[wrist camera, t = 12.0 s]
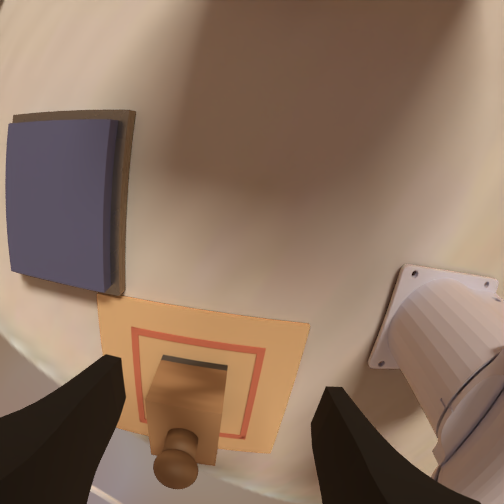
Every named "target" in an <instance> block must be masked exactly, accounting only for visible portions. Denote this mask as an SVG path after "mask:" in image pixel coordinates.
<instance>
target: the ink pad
mask: <svg viewBox="0 0 504 504" xmlns="http://www.w3.org/2000/svg"><path fill="white" fill-rule="evenodd" d="M135 115H136V112H135V111H131V110H76V111H56V112H41V113H30V114H20V115H13V123H10V124H9V126H8V137H7V151H6V220H7V235H8V246H9V255H10V264H11V271H13V272H16V273H20V274H24V275H28V276H32V277H36V278H40V279H44V280H48V281H52V282H56V283H61V284H65V285H69V286H74V287H78V288H83V289H87V290H92V291H97V292H101V293H106V294H111V295H116V296H120V295H121V294H122V293H123V292H124V291H125V238H126V211H127V193H128V179H129V168H130V157H131V147H132V138H133V130H134V122H135Z"/></svg>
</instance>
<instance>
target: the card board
mask: <svg viewBox="0 0 504 504" xmlns="http://www.w3.org/2000/svg"><path fill="white" fill-rule="evenodd" d="M97 306H98V317H99V327H100V336H101V344H102V352H103V356H104V355H105V354H108V355H112V356H116V357H120V358H121V360H122V369H123V377H124V385H125V393H126V400H125V403H124V406H123V410H122V413H121V416H120V419H119V421H118V424H117V426H116V428H119V429H123V430H127V431H131V432H135V433H139V434H143V435H147V436H149V433H148V424H147V416H146V406H145V399H146V396H147V393H148V391H149V388H150V386H151V383H152V381H153V378H154V376H155V373H156V371H157V368H158V366H159V363H160V361H161V358H162V356H163V355H168V356H174V357H179V358H185V359H190V360H196V361H203V362H209V363H216V364H223V365H228V369H227V378H226V386H225V395H224V403H223V412H222V419H221V427H220V434H219V441H218V449H226V450H235V451H245V452H256V453H271V450H272V447H273V444H274V441H275V439H276V436H277V433H278V430H279V427H280V424H281V421H282V418H283V415H284V412H285V409H286V406H287V403H288V400H289V397H290V394H291V390H292V387H293V384H294V381H295V378H296V374H297V371H298V368H299V364H300V361H301V357H302V354H303V351H304V347H305V344H306V340H307V337H308V333H309V329H310V325H309V324H308V323H299V322H290V321H281V320H273V319H265V318H257V317H249V316H242V315H235V314H228V313H221V312H214V311H207V310H201V309H195V308H188V307H182V306H176V305H170V304H165V303H159V302H153V301H148V300H142V299H137V298H132V297H127V296H122V295H120V296H116V295H111V294H106V293H101V292H98V293H97Z"/></svg>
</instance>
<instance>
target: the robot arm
mask: <svg viewBox="0 0 504 504" xmlns="http://www.w3.org/2000/svg"><path fill="white" fill-rule="evenodd" d="M413 271H416V273H415V275H413V276H412V272H413ZM485 283H486V284H485ZM484 284H485V285H484ZM498 284H499V283H498V280H497V279H495V278H491V277H485V276H479V275H473V274H467V273H461V272H455V271H449V270H443V269H436V268H430V267H424V266H418V265H412V264H406V265H404V266H403V267H402V268H401V270H400V272H399V276H398V279H397V282H396V285H395V288H394V291H393V295H392V298H391V301H390V303H389V306H388V309H387V312H386V315H385V318H384V321H383V323H382V326H381V329H380V331H379V334H378V337H377V339H376V342H375V345H374V347H373V350H372V352H371V355H370V357H369V360H368V365H369V367H370V368H372V369H401V371H402V373H403V374H404V376H405V378H406V380H407V382H408V383H409V385H410V387H411V389H412V391H413V393H414V394H415V396H416V398H417V400H418V402H419V404H420V405H421V407H422V409H423V411H424V413H425V415H426V417H427V419H428V421H429V423H430V425H431V426H432V428H433V430H434V432H435V434H436V436H437V438H438V442H437V445H436V446H435V448H434V449H433V451H432V452H433V454H434V456H435V458H436V460H437V462H438V465H439V466H437V468H436V469H435V471H434V472H433V474H432V476H431V477H429V476H428V475H426V474H425V473H423V472H422V471H420V470H419V469H418V468H416V467H415V466H414V465H412V464H411V463H410V462H409V461H408V460H407V459H405V458H404V457H403V456H402V455H401V454H400V453H398V452H397V451H396V450H395V449H394V448H393V447H392V446H391V445H390V444H389V443H388V442H387V441H386V440H385V439H384V438H383V437H382V436H381V434H380V433H379V432H378V431H377V430H376V429H375V428H374V427H373V425H372V424H371V423H370V422H369V421H368V419H367V418H366V417H365V416H364V415H363V413H362V412H361V411H360V410H359V408H358V407H357V406H356V404H355V403H354V402H353V401H352V399H351V398H350V397H349V395H348V394H347V393H346V392H345V390H344V389H343V388H342V387H326V388H325V390H324V393H323V395H322V398H321V400H320V403H319V405H318V408H317V410H316V412H315V415H314V417H313V420H312V422H311V436H312V449H313V454H314V459H315V465H316V470H317V475H318V480H319V485H320V491H321V496H322V503H323V504H504V300H503V299H502V298H501V297H499V296H498V295H497V294H495V293H496V291H497V288H498ZM381 361H382V362H381ZM379 362H381V363H379ZM125 400H126V393H125V385H124V377H123V369H122V360H121V358H120V357H116V356H112V355H108V354H105V355H104V356H102V357H101V358H100V359H98V360H97V361H96V362H94V363H93V364H92V365H90V366H89V367H88V368H86V369H85V370H84V371H82V372H81V373H80V374H78V375H77V376H75V377H74V378H73V379H71V380H70V381H68V382H67V383H66V384H64V385H63V386H61V387H60V388H58V389H57V390H55V391H54V392H52V393H50V394H49V395H47V396H46V397H44V398H42V399H40V400H39V401H37V402H35V403H33V404H31V405H29V406H27V407H25V408H23V409H21V410H19V411H16V412H14V413H11V414H9V415H6V416H3V417H1V418H0V504H87V500H88V496H89V492H90V489H91V485H92V482H93V478H94V475H95V472H96V470H97V467H98V465H99V463H100V460H101V458H102V456H103V454H104V452H105V450H106V447H107V445H108V443H109V441H110V439H111V437H112V435H113V432H114V430H115V428H116V426H117V424H118V421H119V419H120V416H121V413H122V410H123V406H124V403H125Z"/></svg>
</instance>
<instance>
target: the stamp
mask: <svg viewBox="0 0 504 504" xmlns="http://www.w3.org/2000/svg"><path fill="white" fill-rule="evenodd" d="M227 369H228V365H223V364H216V363H209V362H203V361H196V360H190V359H185V358H179V357H174V356H168V355H163V356H162V358H161V361H160V363H159V366H158V368H157V371H156V373H155V376H154V378H153V381H152V383H151V386H150V388H149V391H148V393H147V396H146V399H145V406H146V416H147V424H148V433H149V440H150V448H151V454H152V455H157V458H156V459H155V461H154V466H153V469H154V473H155V476H156V478H157V479H158V480H159V482H161V483H162V484H163V485H165V486H166V487H169V488H173V489H183V488H186V487H188V486H190V485H191V484H193V483H194V482H195V480H196V478H197V475H198V466H197V463H199V464H205V465H213V466H215V462H216V455H217V448H218V441H219V434H220V427H221V419H222V412H223V403H224V395H225V386H226V378H227Z"/></svg>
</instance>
